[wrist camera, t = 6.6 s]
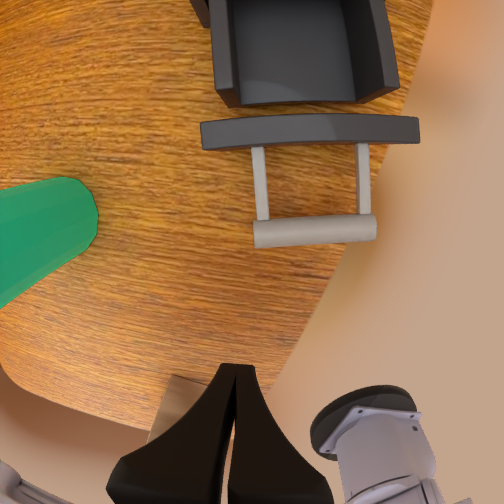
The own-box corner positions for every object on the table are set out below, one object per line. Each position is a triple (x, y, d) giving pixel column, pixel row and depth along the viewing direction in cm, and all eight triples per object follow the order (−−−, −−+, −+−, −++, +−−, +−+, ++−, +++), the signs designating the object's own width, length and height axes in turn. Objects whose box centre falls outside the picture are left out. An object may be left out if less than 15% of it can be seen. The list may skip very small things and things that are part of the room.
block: (217, 388, 24) (203, 464, 16) (206, 415, 25) (192, 486, 18) (171, 373, 24) (144, 446, 16) (164, 402, 25) (141, 470, 17)
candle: (109, 197, 19) (-22, 251, 8) (86, 268, 21) (-19, 354, 10) (50, 164, 19) (-79, 190, 7) (32, 232, 20) (-77, 290, 9)
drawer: (378, 222, 18) (419, 250, 13) (228, 232, 19) (214, 265, 13) (336, -69, 11) (353, -113, 6) (205, -66, 12) (191, -113, 7)
